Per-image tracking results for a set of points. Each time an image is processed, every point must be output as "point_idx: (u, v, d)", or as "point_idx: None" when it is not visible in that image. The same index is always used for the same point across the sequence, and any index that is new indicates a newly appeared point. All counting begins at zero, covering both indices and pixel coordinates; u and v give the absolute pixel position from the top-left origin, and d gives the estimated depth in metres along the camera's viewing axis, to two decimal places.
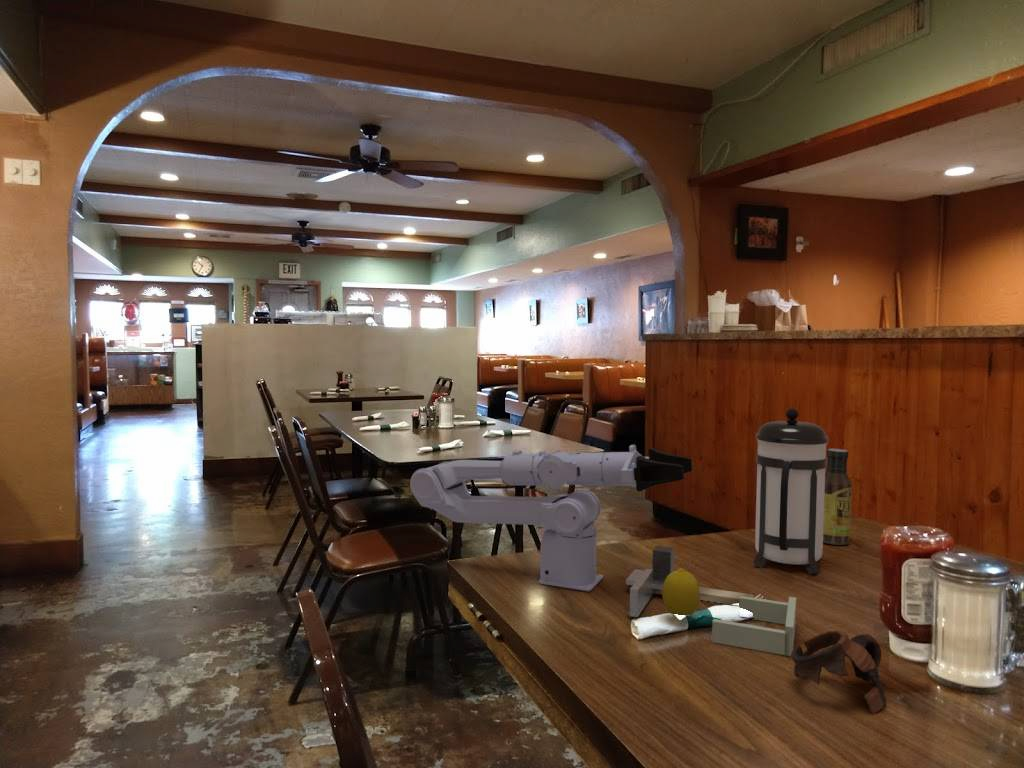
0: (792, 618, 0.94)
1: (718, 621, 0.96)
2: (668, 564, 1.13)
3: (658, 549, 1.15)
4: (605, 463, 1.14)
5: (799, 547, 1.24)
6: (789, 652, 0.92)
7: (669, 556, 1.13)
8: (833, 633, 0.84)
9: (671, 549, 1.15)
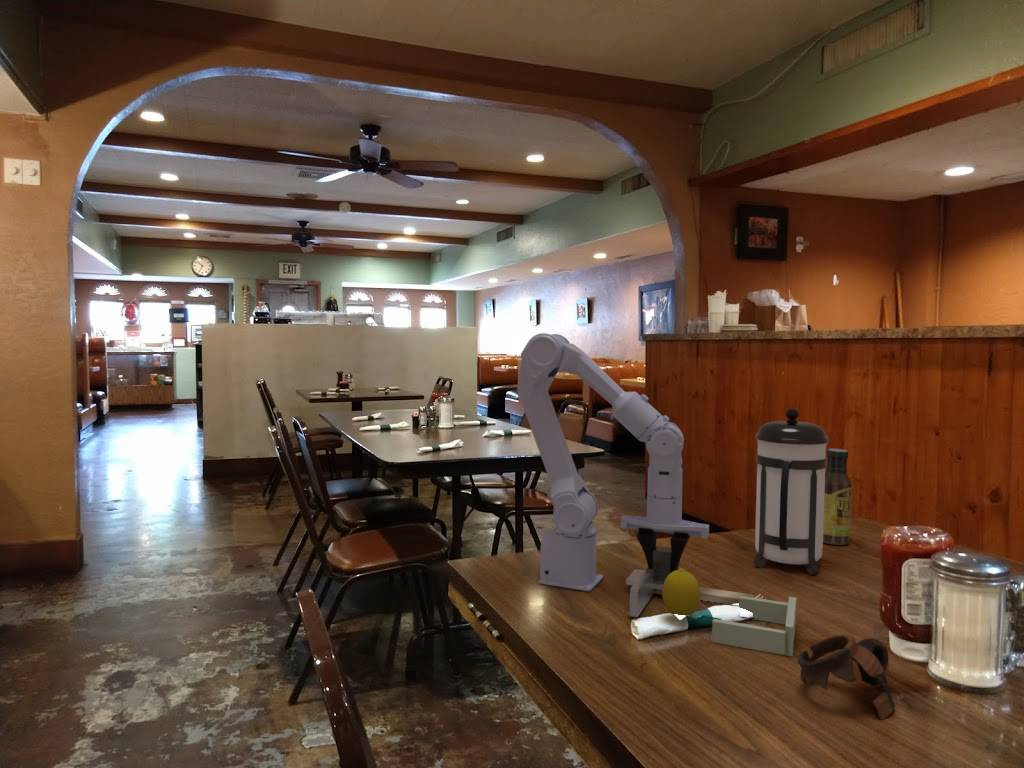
0: (792, 618, 0.94)
1: (718, 621, 0.96)
2: (668, 564, 1.13)
3: (658, 549, 1.15)
4: None
5: (799, 547, 1.24)
6: (789, 652, 0.92)
7: (669, 556, 1.13)
8: (840, 637, 0.83)
9: None
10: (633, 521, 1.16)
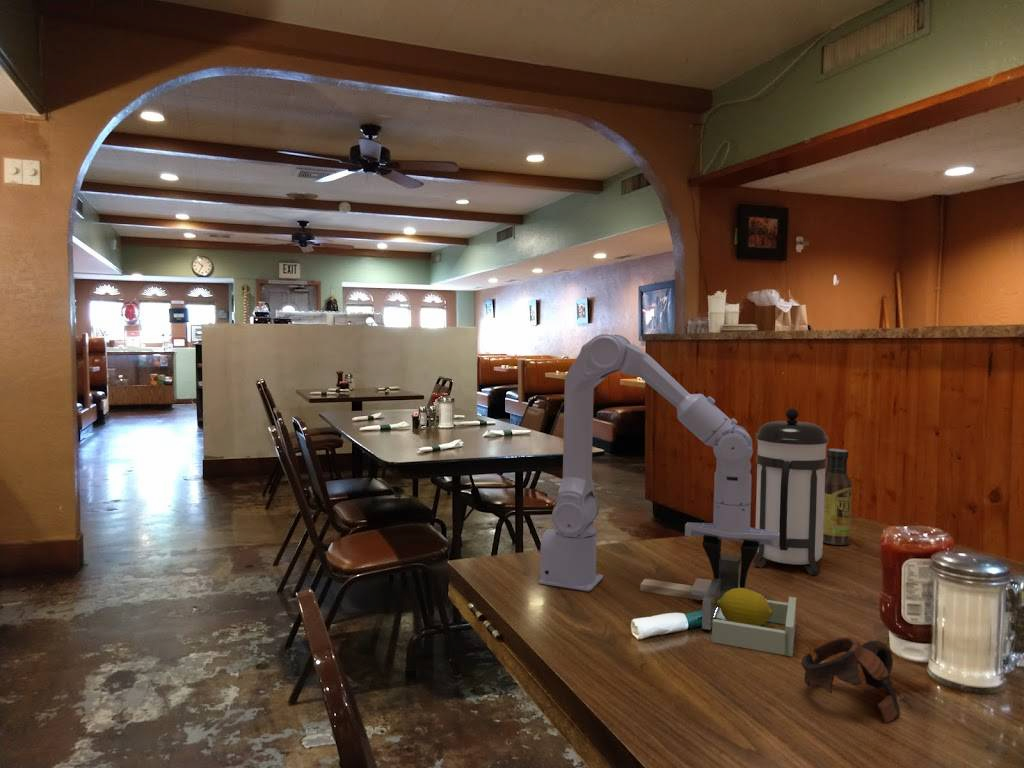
0: (792, 618, 0.94)
1: (718, 621, 0.96)
2: (736, 574, 1.09)
3: (724, 558, 1.10)
4: None
5: (799, 547, 1.24)
6: (789, 652, 0.92)
7: (737, 565, 1.09)
8: (844, 639, 0.82)
9: (738, 558, 1.11)
10: (699, 528, 1.11)
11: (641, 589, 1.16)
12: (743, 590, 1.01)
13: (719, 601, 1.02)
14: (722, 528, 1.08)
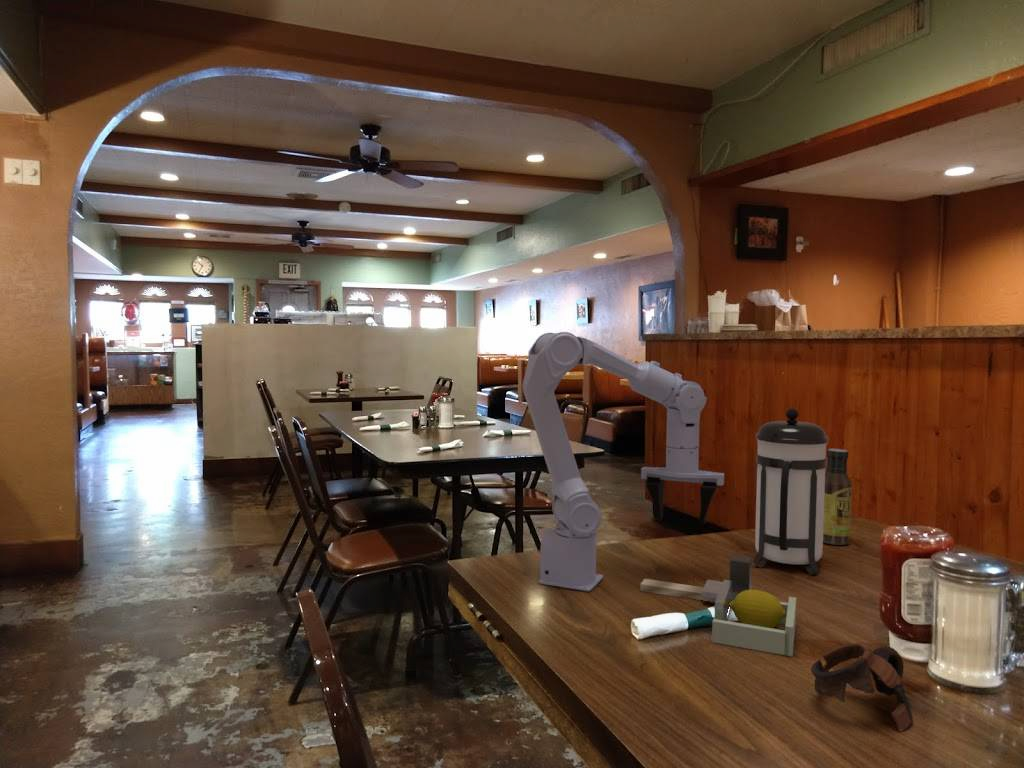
0: (792, 618, 0.94)
1: (718, 621, 0.96)
2: (747, 575, 1.08)
3: (735, 559, 1.10)
4: None
5: (799, 547, 1.24)
6: (789, 652, 0.92)
7: (748, 566, 1.08)
8: (854, 646, 0.80)
9: (749, 559, 1.10)
10: (653, 471, 1.24)
11: (641, 589, 1.16)
12: (756, 592, 1.00)
13: (732, 603, 1.02)
14: (673, 469, 1.21)
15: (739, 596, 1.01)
